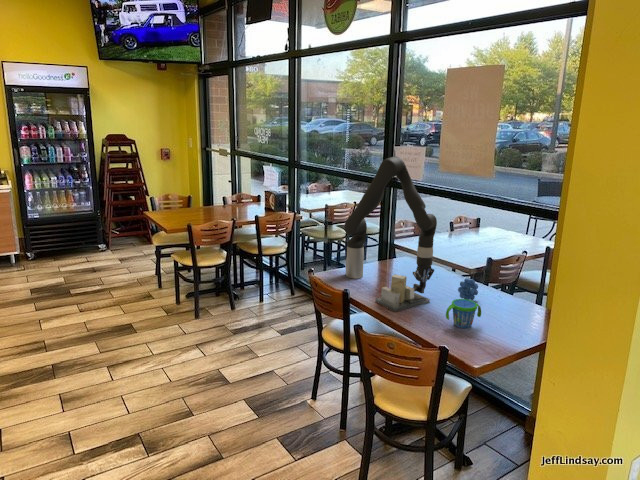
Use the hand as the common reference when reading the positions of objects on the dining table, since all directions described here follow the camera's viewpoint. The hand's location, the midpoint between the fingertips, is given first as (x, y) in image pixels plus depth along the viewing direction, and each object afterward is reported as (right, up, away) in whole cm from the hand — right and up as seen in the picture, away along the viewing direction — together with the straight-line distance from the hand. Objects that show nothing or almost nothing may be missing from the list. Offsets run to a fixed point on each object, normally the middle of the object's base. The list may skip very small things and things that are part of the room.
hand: (422, 288), depth 238 cm
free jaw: (-6, -4, -3) cm, 8 cm away
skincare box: (-14, -5, -8) cm, 16 cm away
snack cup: (+11, -13, -30) cm, 34 cm away
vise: (-11, -6, -6) cm, 14 cm away
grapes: (+21, -6, -4) cm, 23 cm away
